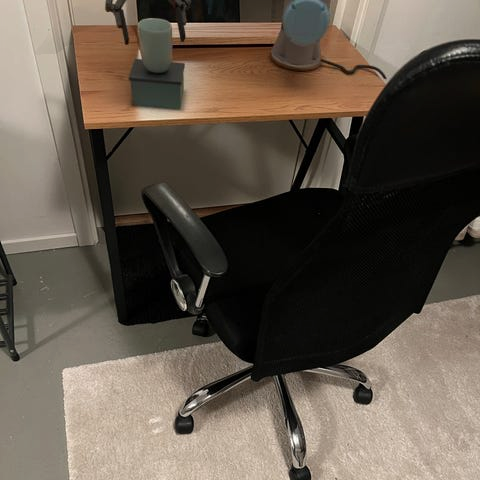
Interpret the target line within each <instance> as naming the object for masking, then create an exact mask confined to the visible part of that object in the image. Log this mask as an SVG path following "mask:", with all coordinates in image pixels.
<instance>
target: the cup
mask: <svg viewBox="0 0 480 480" xmlns="http://www.w3.org/2000/svg"><path fill="white" fill-rule="evenodd" d="M137 27H138V29H137V30H138V43H139V52H140V57H141V58H140V59H142V62H143V64H144V66H145V68H146V69H147V70H148V71H150V72H153V73H163V72H166V71H167V70H168V69H169V68H170V66H171V62H173V50H174V49H173V25H172V23H171V22H170V21H168V20H166V19H163V18H155V17H154V18H153V17H149V18H143V19H141V20H140V21H138V24H137Z"/></svg>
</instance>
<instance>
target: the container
mask: <svg viewBox="0 0 480 480" xmlns="http://www.w3.org/2000/svg"><path fill="white" fill-rule="evenodd" d="M185 67H186V63H185V62H177V61H172V62H171V66H170V68H169V69H168V70H167V71H166V72H163V73H153V72H150V71H148V70H147V69H146V68H145V66H144V64H143V62H142V58H134V61H133V63H132V67H131V69H130V72H129V76H128V81H129V82H130V91H131V99H132V100H131V102H132V106H133V107H134V106H135V107H145V108H146V107H149V108H158V109H170V110H182V103H183V98H184V92H185V82H184V81H185V79H184V78H185V76H184V75H185V74H184V73H185Z"/></svg>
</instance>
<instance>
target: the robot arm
mask: <svg viewBox="0 0 480 480" xmlns="http://www.w3.org/2000/svg"><path fill="white" fill-rule="evenodd" d="M113 2H114V0H105V3H104V6H105V7H104V10H105V12H106V13H110V12H111V13H112V14H113V16H114V19H115V24H116V27H117V29H121V31H122V37H123V41H124V45H125V46H129V43H130V37H129V31H128V27H127V21H126V17H125V12H124V9H123V7H124V5H125V4H126V2H127V0H116V1H115V3H113ZM167 2H168V3H169V4H170V5H172V7H173V8H174V9H175V17H176V18H175V19H176V24H177V29H178V34H179V39H180V43H184V42H185V40H186V38H187V35H186V29H185V26H186V24H187V23H188V20H187V14H186V10H187V11H188V10H190V8H191V4H192V0H167ZM331 3H332V0H284V2H283V11H282V17H281V24H280V25H281V26H280V31H279V32H278V35H277V37H276V39H275V42H274V44H273V46H272V49H271V52H270V53H271V54H270V60H271V61H272V62H273V63H274V64H275V65H276V66H279V67H281V68H284V69H286V70H290V71H296V72H309V71H313V70H316V69H318V68H319V67H320V66H321V63H323V64H327V65H329V66H331V67H335V68H337V69H340V70H342V71H343V72H344V73H345V74H348V75H349V74H354V73H355V72H356V70H357V69H369V70H373V71H376V72H377V73H379V74H380V75H381V77H382V79H383V80H387V75H386V74H385V73H384V71H382V70H381V69H380V68H379V67H377V66H374V65H370V64H356V65H355V66H354V67H353V69H352V70H350V69H346V68H345V67H344V66H342V65H341V64H338V63H335V62H333V61H330V60H326V59H323V58H322V45H321V40H322V39H323V38H324V37H325V35H326V33H327V31H328V28H329V26H330V22H331V17H330V15H331V14H330V9H331Z"/></svg>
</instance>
